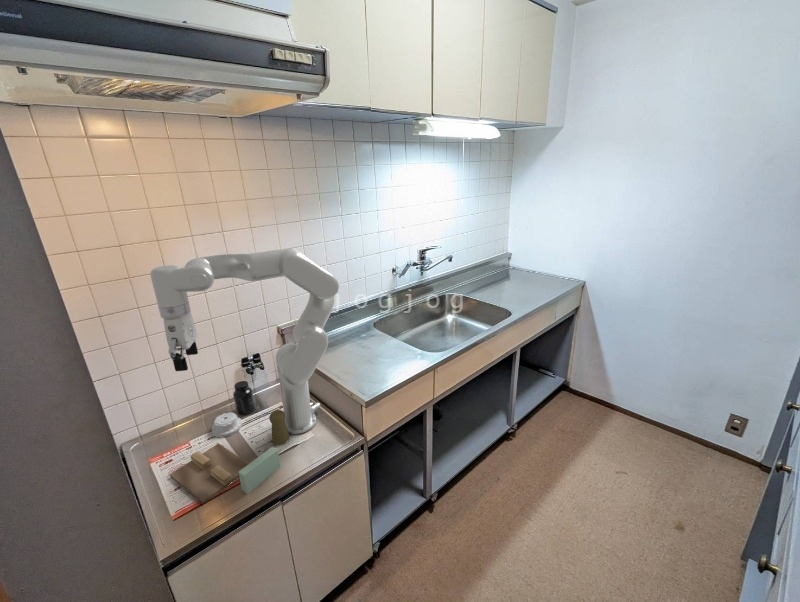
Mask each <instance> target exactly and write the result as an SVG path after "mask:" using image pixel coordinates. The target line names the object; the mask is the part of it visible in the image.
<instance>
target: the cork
mask: <svg viewBox="0 0 800 602" xmlns="http://www.w3.org/2000/svg"><path fill="white" fill-rule="evenodd" d="M268 419H269V422H270V424H271V443H272V444H273V445H274V446H282V445H284V444H286V443H287V442H289V440H290V438H291V437H290V434H289V433H288V430H287V427H286V424H285V421H284V420H285V413H284V410H283V409H282V410H281V409H276V410H273V411H272V412H270V414H269V416H268Z"/></svg>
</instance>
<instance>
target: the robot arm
mask: <svg viewBox="0 0 800 602" xmlns="http://www.w3.org/2000/svg"><path fill="white" fill-rule="evenodd" d="M281 277H282V278H283V277H285V278H287V280H289V281H290V282H292V283H293V284H295V285H296V286H297V287H299V288H301V289H303V290H304V291H306V292H308V293H309V299H308V301H307V304H306V306H305V308H304V310H303V311H302V313H301V315H300V317H299V318H298V320H297V322H296V323H295V324H294V325H295V326H294V328H293V330H292V336H293V339H294V341H295V342H296V344H295V343H292V342H291V343H290V342H289V343H285V344H283V345H281V346H280V347H279V348H278V350H277V352H276V353H275V365H276V371H277V373H278V379H279V380H278V381H279V385H280V395H281V400H282V401H281V402H282V408H283V409H282V411H283V412H284V413H285V420H284V421H285V424H286V427H287V430H288V433H289V435H298V434H303V433H306V432H308V431H309V430H311V429H312V428H314V426H315V425H316V423H317V416H316V414H315V411H316V410H318V409H319V408H320V407H321V406H322V405H321V403H319V402H316V403H315V404H314V403H313V402H311V396H310V388H309V379H310V378H311V376H313V374H314V373H315V371H316V369H317V367H318V365H319V364H320V362H321V360H322V358H323V356H324V355H325V353H326V351H327V348H328V344H329V336H328V334H327V332H326V331H325V330H324V328H325V326H326V323H327V322H328V319H329V318H330V315H331V314H332V311H333V308H334V304H335V297H336V296H337V294H338V292H339V289H340V285H339V281H338V279H337V278H336V276H334V275H333V274H332V273H330V272H329V271H328V270H326V268H324V267H321V266H319V265H317V264H316V263H315V262H313V261H312V260H311V259H309V258H308V257H307V256H305V254H303V253H302V252H300V251H299V250H297V249H295V248H281V249H274V250H267V251H259V252H250V253H234V254H230V253H227V254H215V255H207V256H201V257H196V258H193V259H191V260H189V261H188V262H186V263H185V265H184V267H183V268H181V267H180V266H178V265H172V264H171V265H170V264H169V265H162V266H157V267H155V268H153V269H151V271H150V279H151V283H152V288H153V290H154V294H155V299H156V303H157V307H158V312H159V314H160V318H161V319H163V325H164V332H165V338H166V342H167V346H168V354H169V356H170V358H171V360H172V363H173V366H174V371H175V372H185V371H188V370H189V368H188V364H187V363H188V362H187V359H186V357H185V355H187V356H192V355H193V356H194V355H198V354H199V351H198V347H197V342H196V339H197V338H198V333H197V329H196V325H195V322H194V318H193V315H192V310H191V306H190V305H191V304H190V301H189V297H188V293H189V292H204V291H208V290H209V289H210V288H212V287H213V285H214V282H215V280H219V279H230V278H231V279H232V278H234V279H240V280H243V281H247V282H248V281H249V282H258V281H259V282H260V281H265V280H271V279H277V278H281ZM187 292H188V293H187ZM179 352H180V353H179Z"/></svg>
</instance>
